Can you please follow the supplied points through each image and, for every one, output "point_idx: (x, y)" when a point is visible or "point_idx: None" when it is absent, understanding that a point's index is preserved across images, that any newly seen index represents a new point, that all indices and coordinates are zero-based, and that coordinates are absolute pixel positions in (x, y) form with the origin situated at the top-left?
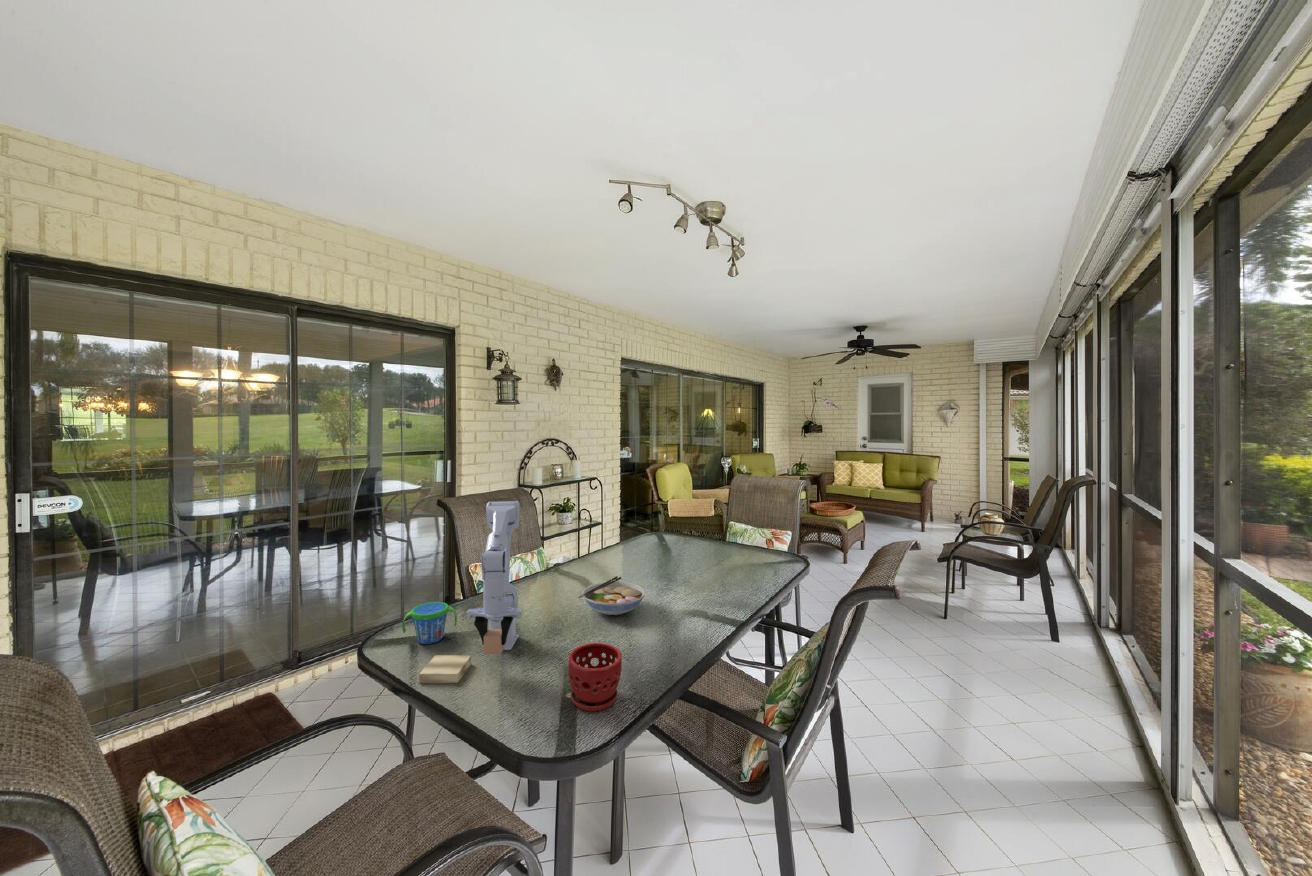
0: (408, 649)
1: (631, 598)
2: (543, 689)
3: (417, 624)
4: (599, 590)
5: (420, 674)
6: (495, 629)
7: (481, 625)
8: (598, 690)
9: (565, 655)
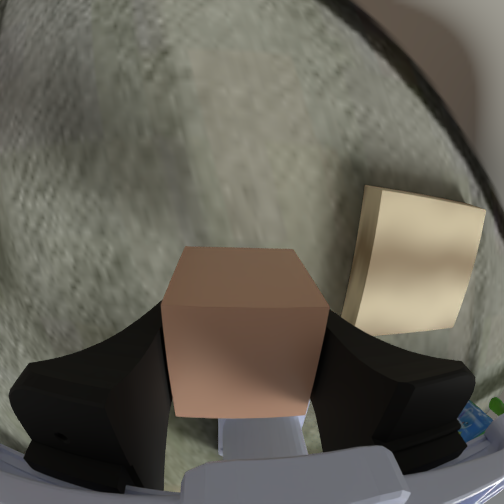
0: (477, 366)
1: None
2: (32, 136)
3: (488, 417)
4: None
5: (481, 209)
6: (249, 410)
7: (396, 371)
8: None
9: (38, 348)
